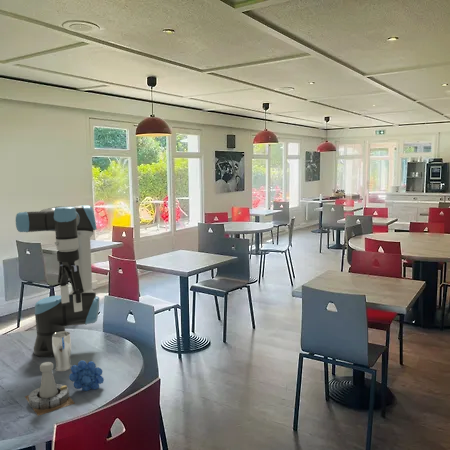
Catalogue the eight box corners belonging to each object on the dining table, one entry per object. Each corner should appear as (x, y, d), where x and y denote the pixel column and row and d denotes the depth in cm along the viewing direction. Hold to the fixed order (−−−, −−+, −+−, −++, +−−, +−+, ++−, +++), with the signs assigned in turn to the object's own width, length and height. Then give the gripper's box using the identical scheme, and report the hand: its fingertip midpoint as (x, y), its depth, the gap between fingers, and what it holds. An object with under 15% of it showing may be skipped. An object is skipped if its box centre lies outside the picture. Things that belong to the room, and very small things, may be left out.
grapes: (69, 400, 157) (67, 367, 155) (70, 391, 163) (68, 359, 162) (104, 395, 160) (102, 362, 159) (104, 386, 167) (102, 355, 165)
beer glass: (76, 368, 182) (74, 331, 180) (65, 375, 176) (62, 338, 174) (62, 365, 185) (59, 330, 183) (50, 373, 178) (47, 336, 176)
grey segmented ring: (25, 398, 157) (24, 390, 156) (61, 387, 164) (61, 379, 164) (35, 413, 147) (34, 404, 147) (74, 400, 154) (73, 392, 154)
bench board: (24, 399, 158) (24, 396, 158) (59, 388, 166) (59, 385, 166) (38, 419, 146) (37, 415, 146) (75, 406, 153) (75, 403, 153)
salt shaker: (43, 395, 158) (40, 360, 157) (60, 394, 159) (57, 359, 157) (37, 404, 153) (34, 367, 151) (55, 403, 153) (52, 366, 151)
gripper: (46, 246, 172) (50, 301, 175) (69, 256, 153) (73, 317, 156) (66, 244, 177) (70, 297, 180) (90, 253, 157) (94, 312, 160)
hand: (71, 306), depth 168 cm, fingers open, 13 cm apart
